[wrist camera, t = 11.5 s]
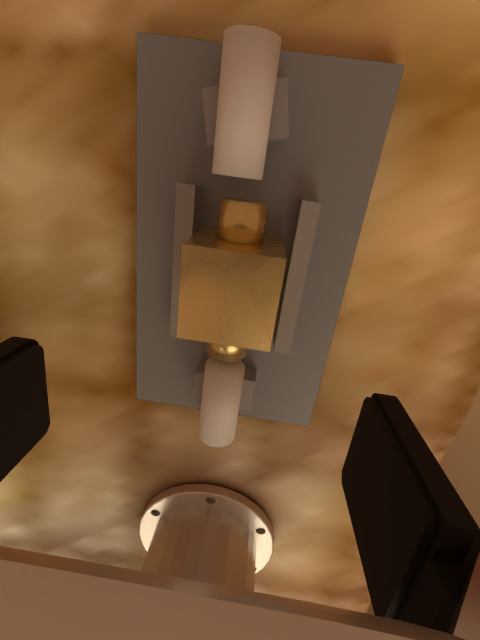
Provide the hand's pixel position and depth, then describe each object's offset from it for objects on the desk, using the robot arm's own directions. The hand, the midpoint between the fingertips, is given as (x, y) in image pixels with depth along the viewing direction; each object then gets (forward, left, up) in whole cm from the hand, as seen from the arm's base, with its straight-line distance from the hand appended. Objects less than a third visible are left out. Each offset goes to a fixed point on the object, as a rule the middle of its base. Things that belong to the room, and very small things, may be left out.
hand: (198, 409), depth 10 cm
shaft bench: (+1, 0, -13) cm, 13 cm away
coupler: (+1, 0, -12) cm, 12 cm away
